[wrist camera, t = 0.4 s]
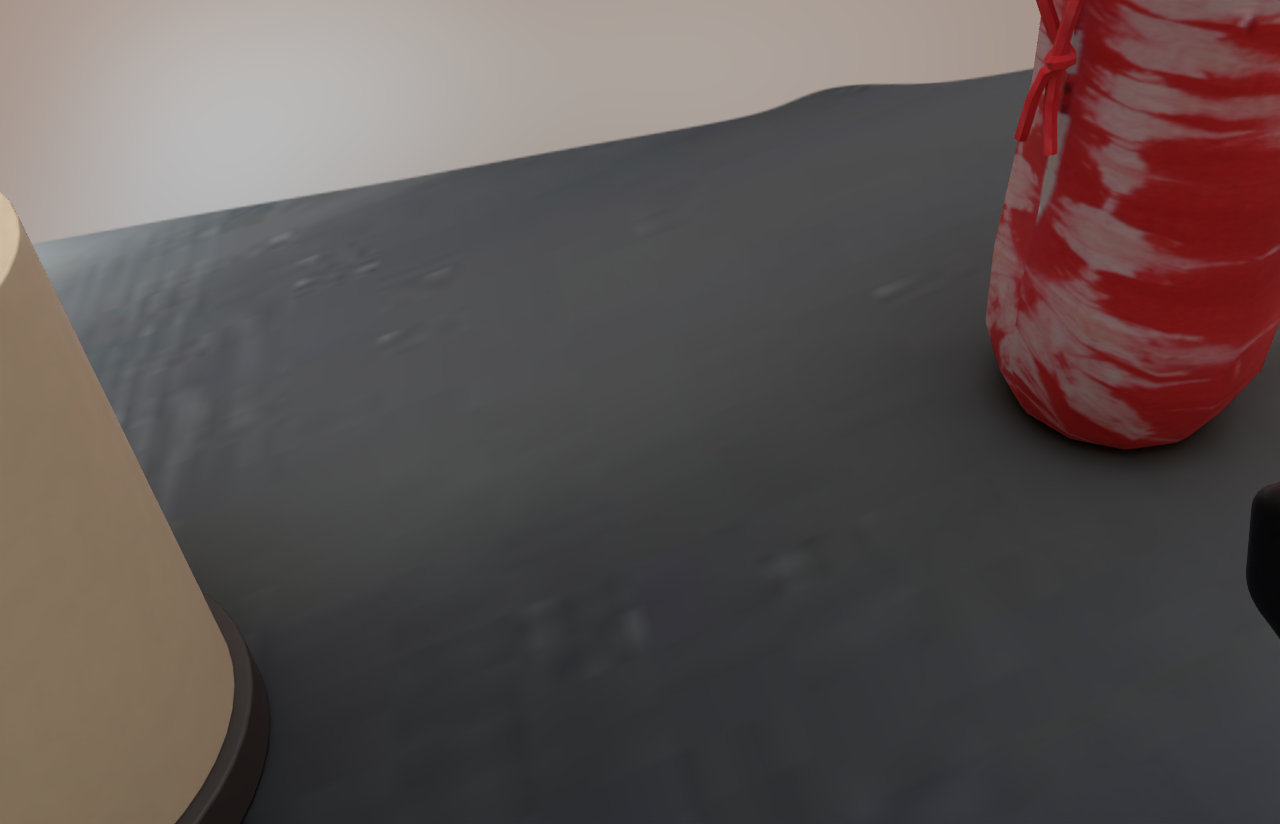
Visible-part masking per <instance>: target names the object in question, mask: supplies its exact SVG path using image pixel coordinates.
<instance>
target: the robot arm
mask: <svg viewBox="0 0 1280 824" xmlns="http://www.w3.org/2000/svg"><path fill="white" fill-rule="evenodd" d="M1246 579H1247V585H1248V589H1249V592H1250V595H1251V597H1252V599H1253V601H1254V603H1255V605H1256V607H1257V608H1258V610H1259V611H1260V613H1261V614H1262V616H1263V617H1264V618H1265V620H1266V621H1267V622H1268V624H1269V625H1270V626H1271V628H1272V629H1273V630H1274V632H1275V633H1276V634H1277V636H1278V637H1279V638H1280V482H1278V483H1275V484H1272V485H1268V486H1266V487H1264V488H1263V489H1261V490H1260V491H1259V492H1258V493H1257V495H1256V496H1255V498H1254V500H1253V503H1252V509H1251V520H1250V532H1249V543H1248V555H1247V566H1246Z"/></svg>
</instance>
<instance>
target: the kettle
mask: <svg viewBox="0 0 1280 824" xmlns="http://www.w3.org/2000/svg"><path fill="white" fill-rule="evenodd" d="M269 722H270V717H269V707H268V698H267V693H266V690H265V687H264V683H263V680H262V676H261V674H260V672H259V670H258V667H257V665H256V663H255V661H254V659H253V657H252V655H251V653H250V650H249V648H248V646H247V644H246V642H245V640H244V638H243V636H242V634H241V632H240V630H239V628H238V627H237V625H236V623H235V622H234V621H233V620H232V618H231V617H230V616H229V615H228V613H227V612H226V611H225V610H224V608H222V607H221V606H220V605H219V604H218V603H216V602H215V601H214V600H213V599H212V598H211V597H209V596H208V595H206V594H205V593H203V592H201V590H200V588H199V586H198V584H197V582H196V580H195V578H194V576H193V574H192V572H191V570H190V568H189V565H188V563H187V561H186V559H185V557H184V555H183V553H182V551H181V549H180V547H179V545H178V543H177V541H176V539H175V537H174V535H173V533H172V531H171V529H170V527H169V524H168V522H167V520H166V518H165V516H164V514H163V512H162V510H161V508H160V506H159V504H158V502H157V500H156V498H155V496H154V494H153V492H152V490H151V488H150V485H149V483H148V481H147V479H146V477H145V475H144V473H143V471H142V469H141V467H140V465H139V463H138V461H137V459H136V457H135V455H134V453H133V451H132V449H131V447H130V444H129V442H128V440H127V438H126V436H125V434H124V432H123V430H122V428H121V426H120V424H119V422H118V420H117V418H116V416H115V414H114V412H113V410H112V408H111V405H110V403H109V401H108V399H107V397H106V395H105V393H104V391H103V389H102V387H101V385H100V383H99V381H98V379H97V377H96V375H95V373H94V371H93V369H92V366H91V364H90V362H89V360H88V358H87V356H86V354H85V352H84V350H83V348H82V346H81V344H80V342H79V340H78V338H77V336H76V334H75V332H74V330H73V328H72V325H71V323H70V321H69V319H68V317H67V315H66V313H65V311H64V309H63V307H62V305H61V303H60V301H59V299H58V297H57V295H56V293H55V291H54V289H53V286H52V284H51V282H50V280H49V278H48V276H47V274H46V272H45V270H44V268H43V266H42V264H41V262H40V260H39V258H38V256H37V254H36V252H35V250H34V247H33V245H32V243H31V241H30V239H29V237H28V235H27V233H26V231H25V229H24V227H23V225H22V223H21V221H20V219H19V217H18V215H17V213H16V211H15V209H14V207H13V205H12V203H11V202H10V201H9V200H8V199H7V198H6V197H5V196H4V195H3V194H2V193H1V192H0V824H240V823H241V821H242V819H243V817H244V815H245V813H246V811H247V809H248V807H249V805H250V803H251V801H252V799H253V796H254V793H255V791H256V788H257V785H258V782H259V779H260V776H261V774H262V771H263V766H264V761H265V756H266V752H267V747H268V739H269Z"/></svg>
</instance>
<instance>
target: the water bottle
mask: <svg viewBox="0 0 1280 824" xmlns="http://www.w3.org/2000/svg"><path fill="white" fill-rule="evenodd" d="M1036 2H1037V5H1038V8H1039V11H1040V14H1041V21H1040V28H1039V35H1038V42H1037V50H1036V57H1035V64H1034V70H1033V78H1032V82H1031V87H1030V91H1029V93H1028V95H1027V97H1026V100H1025V103H1024V106H1023V110H1022V113H1021V117H1020V120H1019V123H1018V127H1017V130H1016V134H1015V137H1014V138H1015V139H1016V140H1017V141H1018V144H1017V149H1016V153H1015V157H1014V162H1013V166H1012V171H1011V175H1010V179H1009V184H1008V188H1007V193H1006V197H1005V202H1004V206H1003V210H1002V215H1001V219H1000V224H999V228H998V233H997V237H996V241H995V246H994V252H993V261H992V270H991V278H990V287H989V295H988V304H987V313H986V321H985V322H986V326H987V329H988V332H989V336H990V339H991V343H992V346H993V349H994V353H995V356H996V360H997V363H998V367H999V369H1000V371H1001V373H1002V374H1003V376H1004V378H1005V380H1006V381H1007V383H1008V385H1009V386H1010V388H1011V390H1012V391H1013V393H1014V395H1015V397H1016V398H1017V400H1018V402H1019V403H1020V405H1021V406H1022V407H1023V409H1024V410H1025V411H1026V413H1027V414H1029V415H1031V416H1032V417H1034V418H1036V419H1037V420H1039V421H1041V422H1043V423H1044V424H1046V425H1048V426H1049V427H1051V428H1053V429H1054V430H1056V431H1058V432H1059V433H1061V434H1063V435H1064V436H1066V437H1068V438H1069V439H1074V440H1079V441H1084V442H1089V443H1094V444H1099V445H1104V446H1109V447H1114V448H1119V449H1124V450H1127V449H1134V448H1142V447H1149V446H1157V445H1164V444H1171V443H1176V442H1179V441H1181V440H1183V439H1185V438H1187V437H1189V436H1190V435H1191V434H1193V433H1194V432H1195V431H1197V430H1198V429H1199V428H1201V427H1202V426H1203V425H1205V424H1206V423H1207V422H1208V421H1210V420H1211V419H1212V418H1214V417H1215V416H1216V415H1218V414H1219V413H1220V412H1222V411H1223V410H1224V409H1225V408H1226V407H1227V406H1228V405H1229V403H1230V402H1231V401H1232V400H1233V399H1234V398H1235V397H1236V396H1237V395H1238V394H1239V393H1240V392H1241V391H1242V390H1243V389H1244V388H1245V387H1246V386H1247V385H1248V383H1249V382H1250V381H1251V380H1252V379H1253V378H1254V377H1255V376H1256V375H1257V374H1258V373H1259V372H1260V371H1261V369H1262V367H1263V364H1264V361H1265V359H1266V356H1267V353H1268V351H1269V348H1270V345H1271V343H1272V340H1273V337H1274V335H1275V332H1276V329H1277V327H1278V324H1279V321H1280V0H1036Z"/></svg>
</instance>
